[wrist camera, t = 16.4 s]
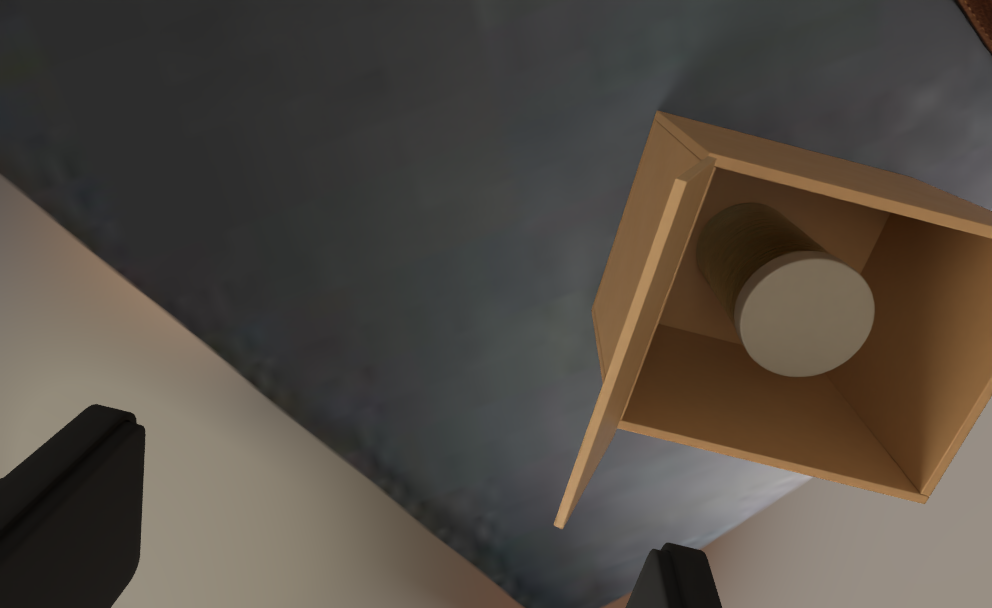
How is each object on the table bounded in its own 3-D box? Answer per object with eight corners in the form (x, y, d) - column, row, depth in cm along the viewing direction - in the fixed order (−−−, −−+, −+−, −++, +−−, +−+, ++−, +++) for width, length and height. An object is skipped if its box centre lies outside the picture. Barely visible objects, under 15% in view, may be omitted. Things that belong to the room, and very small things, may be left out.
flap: (613, 435, 26) (606, 432, 26) (717, 158, 21) (707, 155, 22) (562, 530, 20) (553, 525, 20) (687, 181, 16) (675, 177, 16)
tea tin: (714, 188, 33) (770, 244, 25) (812, 214, 34) (899, 277, 25) (679, 281, 35) (720, 360, 27) (772, 304, 35) (841, 390, 27)
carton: (591, 310, 37) (608, 426, 26) (656, 110, 33) (709, 152, 22) (817, 368, 37) (925, 504, 27) (911, 177, 33) (1082, 249, 22)
